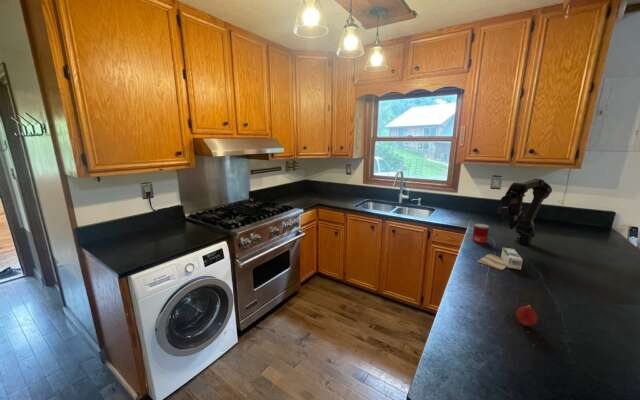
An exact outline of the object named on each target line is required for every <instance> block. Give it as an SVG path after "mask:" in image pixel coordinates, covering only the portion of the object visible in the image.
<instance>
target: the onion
mask: <svg viewBox="0 0 640 400" xmlns="http://www.w3.org/2000/svg"><path fill="white" fill-rule="evenodd" d="M515 312H516V318H517V320H518V321H519V322H520V323H521V324H522V325H523V326H524V327H527V326H533V325H535V324H536V323H537V321H538V315H537V312H536V310H534V309H533V308H532V307H531V305H530V304H528V305H524V306H520V307H519V308H518V309H517V310H516V311H515Z"/></svg>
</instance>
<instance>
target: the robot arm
mask: <svg viewBox="0 0 640 400" xmlns="http://www.w3.org/2000/svg"><path fill="white" fill-rule="evenodd" d="M509 186H510V187H508V189H507V190H506V193H505V195H504V196H502V197H501V198H500V203H501V204H502V205H503V206H498V207H497V208H496V212H497V213H498V214H503V213H505V214H503V215H501V219H502V220H507V221H508V224H509V229H510V230H513V229H514V228H515V232H516V234H518V235H517V236H516V240H515V242H516V243H517V244H520V245H521V246H533V244H532V243H531V242H532V239H533V238H535V236H536V233H537V232H536V230H535V227H536V226H535V222H534V220H535V218H536V216H537V214H538V212H539V210H540V208H541V205H542V203H543V201H544V200H545V199H547V198H548V197H549V196H550V195H551V193H552V192H553V189H552V186H551V185H550V184H549V183H547V182H546V181H545V180H544V179H541V178H532V179H530V180H527V181H525V182H518V181H517V182H513V183H511V185H509ZM529 190H532V195H533V198H532V200H531V202H530V205H529V206H528V209H527V211H526V212H525V211H522V208H523V202H524V201H523V200H524V197H526V195H525V194H526V193H528V191H529ZM520 216H521V217H523V218H521V217H520Z"/></svg>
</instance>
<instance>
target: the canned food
mask: <svg viewBox="0 0 640 400" xmlns="http://www.w3.org/2000/svg"><path fill="white" fill-rule="evenodd" d="M489 229H490V226H489V225H488V224H485V223H484V224H483V223H475V224H474V226H473V232H472V233H473V234H472V241H473V242H474V243H477V244H486V243H487V241H488V236H489Z"/></svg>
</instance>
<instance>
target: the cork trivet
mask: <svg viewBox="0 0 640 400" xmlns="http://www.w3.org/2000/svg"><path fill="white" fill-rule="evenodd" d="M476 262H477V263H480V264H481V263H482V265H484V264H485V266H487V265H488V266H487V267H490V268H493V267H494V268H493V269H495V270H499V271H501V270H502V271H503V270H505V269H507V268H508V267H507V265H506V264H505V262H504V260H503V259H502V257H501V256H497V255H495V254H491V253H488V254H486V255H484V256H483V257H481V258H479V259H478V260H476Z"/></svg>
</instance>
